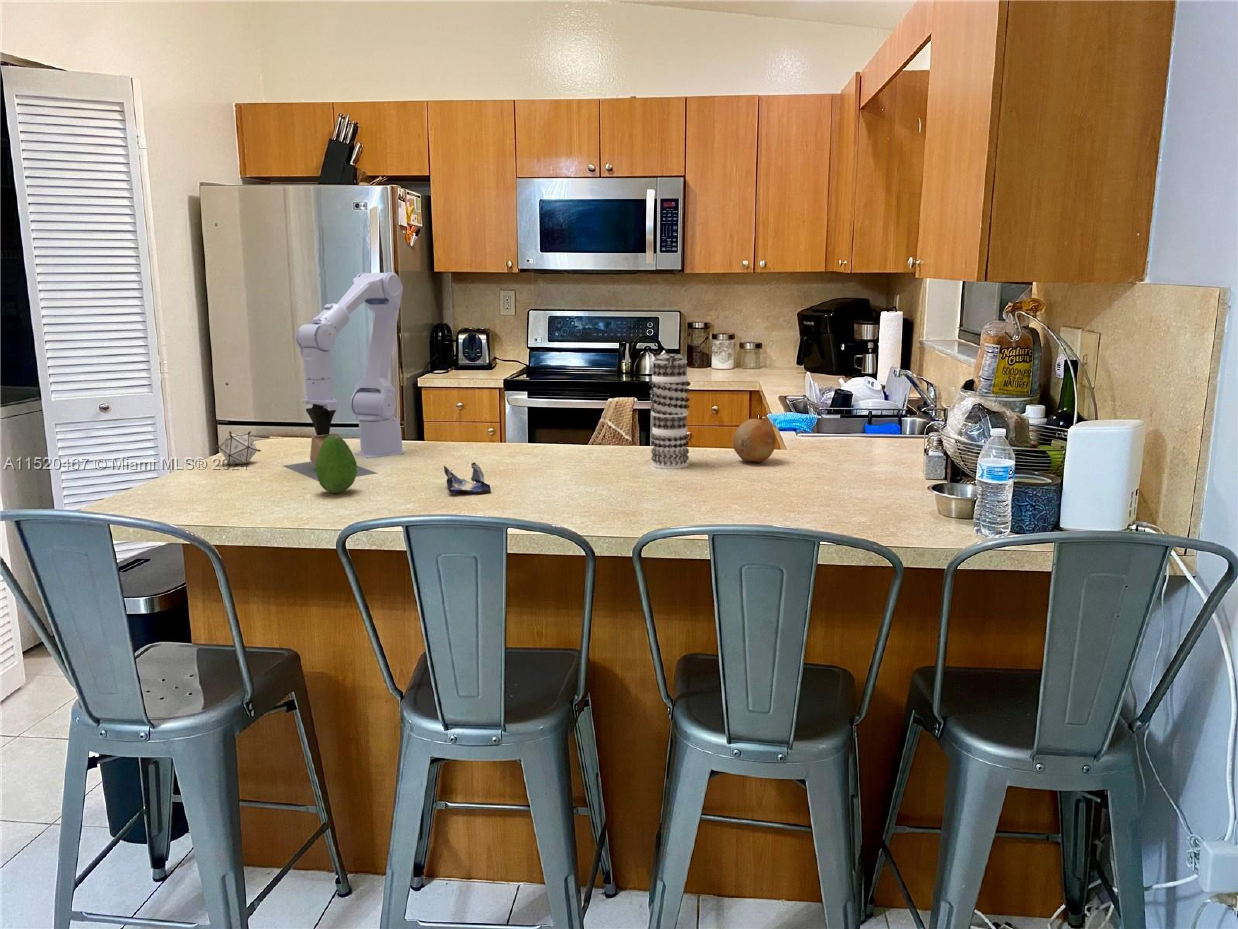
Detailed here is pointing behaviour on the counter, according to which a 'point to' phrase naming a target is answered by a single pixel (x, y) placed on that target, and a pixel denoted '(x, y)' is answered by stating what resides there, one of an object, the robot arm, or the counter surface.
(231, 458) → the game die
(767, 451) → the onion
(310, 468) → the mat
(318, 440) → the letter cube
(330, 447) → the avocado
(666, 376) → the decorative candle
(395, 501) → the counter surface
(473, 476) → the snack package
